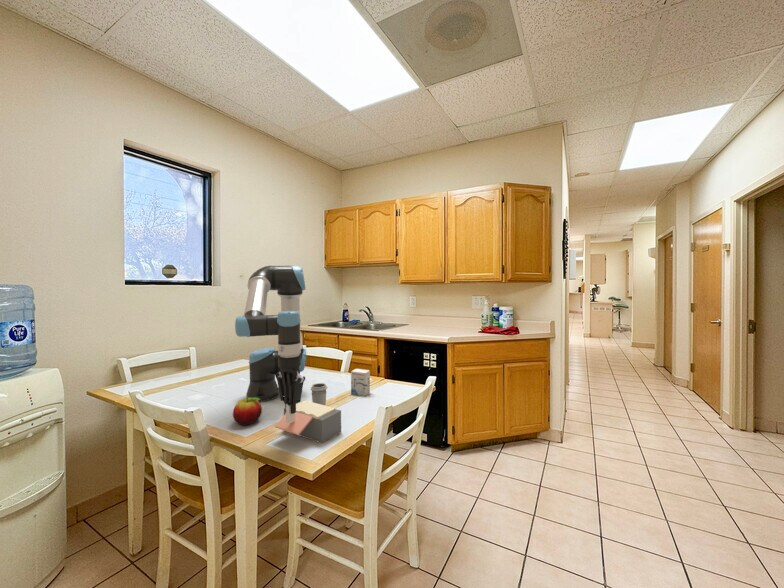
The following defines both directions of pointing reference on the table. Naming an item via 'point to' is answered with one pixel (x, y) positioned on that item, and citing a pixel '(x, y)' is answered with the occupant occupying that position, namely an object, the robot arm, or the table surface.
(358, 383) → the ink box
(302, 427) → the pink rectangular panel
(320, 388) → the cup
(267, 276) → the robot arm
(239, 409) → the fruit
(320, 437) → the block
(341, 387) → the table surface
